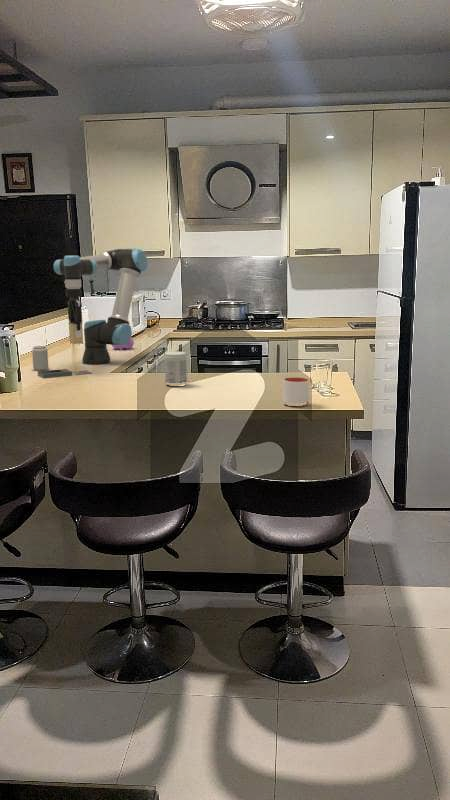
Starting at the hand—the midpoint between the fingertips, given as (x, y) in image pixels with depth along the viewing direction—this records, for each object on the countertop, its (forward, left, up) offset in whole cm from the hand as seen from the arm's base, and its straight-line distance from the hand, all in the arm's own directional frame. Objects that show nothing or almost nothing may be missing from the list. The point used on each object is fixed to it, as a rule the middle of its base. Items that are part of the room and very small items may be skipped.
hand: (76, 336), depth 302 cm
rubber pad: (-2, 0, -18) cm, 18 cm away
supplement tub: (-26, +53, -19) cm, 62 cm away
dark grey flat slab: (+12, 0, -18) cm, 22 cm away
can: (+12, -20, -19) cm, 30 cm away
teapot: (-56, -68, -19) cm, 90 cm away
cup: (-46, +112, -19) cm, 123 cm away
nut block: (0, 0, -3) cm, 3 cm away
